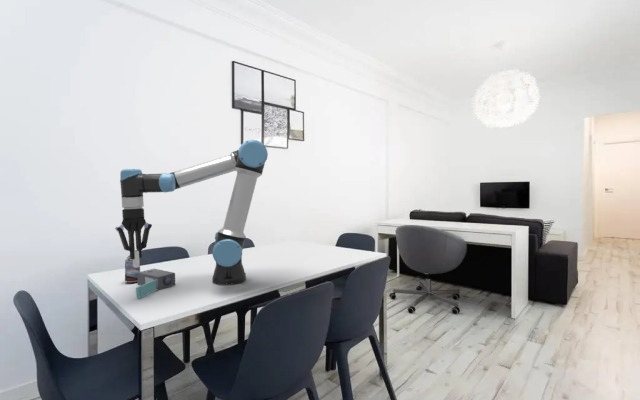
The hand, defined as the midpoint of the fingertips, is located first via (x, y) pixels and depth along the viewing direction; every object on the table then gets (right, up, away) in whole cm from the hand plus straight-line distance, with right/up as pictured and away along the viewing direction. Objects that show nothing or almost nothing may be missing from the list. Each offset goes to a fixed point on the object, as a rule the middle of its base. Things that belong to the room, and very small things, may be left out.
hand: (136, 266), depth 132 cm
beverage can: (-14, -12, +22) cm, 28 cm away
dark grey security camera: (0, -11, +16) cm, 20 cm away
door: (+3, -11, +3) cm, 12 cm away
